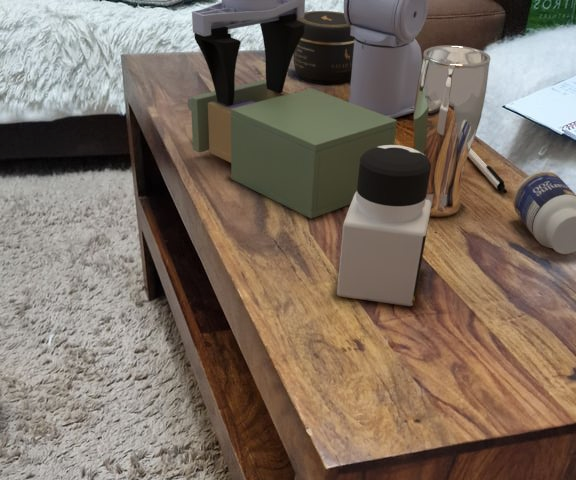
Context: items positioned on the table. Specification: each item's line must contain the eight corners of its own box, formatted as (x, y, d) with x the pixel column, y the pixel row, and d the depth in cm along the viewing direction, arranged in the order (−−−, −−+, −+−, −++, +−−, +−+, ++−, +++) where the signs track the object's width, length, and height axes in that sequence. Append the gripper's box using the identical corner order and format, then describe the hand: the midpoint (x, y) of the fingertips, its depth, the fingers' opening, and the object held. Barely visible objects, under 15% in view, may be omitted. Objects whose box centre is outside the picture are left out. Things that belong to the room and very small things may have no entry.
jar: (322, 89, 114) (326, 30, 109) (278, 72, 119) (280, 15, 114) (369, 78, 119) (375, 21, 114) (325, 62, 124) (329, 6, 119)
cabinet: (231, 179, 89) (230, 108, 84) (308, 155, 95) (312, 87, 90) (311, 218, 83) (315, 144, 77) (388, 190, 89) (397, 120, 83)
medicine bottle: (413, 308, 70) (436, 174, 62) (335, 297, 71) (348, 163, 62) (419, 272, 75) (442, 143, 67) (347, 262, 76) (360, 133, 67)
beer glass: (470, 200, 87) (500, 51, 77) (453, 224, 83) (482, 70, 72) (412, 187, 89) (433, 40, 79) (392, 210, 85) (411, 58, 74)
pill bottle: (567, 168, 81) (605, 207, 74) (554, 218, 85) (589, 259, 78) (518, 169, 81) (552, 209, 74) (507, 219, 84) (538, 261, 78)
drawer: (172, 139, 95) (168, 87, 91) (241, 121, 101) (241, 71, 97) (260, 182, 87) (261, 127, 83) (330, 160, 92) (334, 107, 88)
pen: (500, 195, 89) (503, 185, 88) (447, 136, 102) (449, 127, 101) (508, 195, 89) (510, 185, 88) (454, 136, 102) (455, 127, 101)
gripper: (276, -58, 86) (273, 76, 95) (171, -46, 78) (179, 99, 88) (320, -48, 82) (313, 91, 92) (214, -33, 75) (218, 116, 84)
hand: (250, 96), depth 90 cm, fingers open, 7 cm apart
